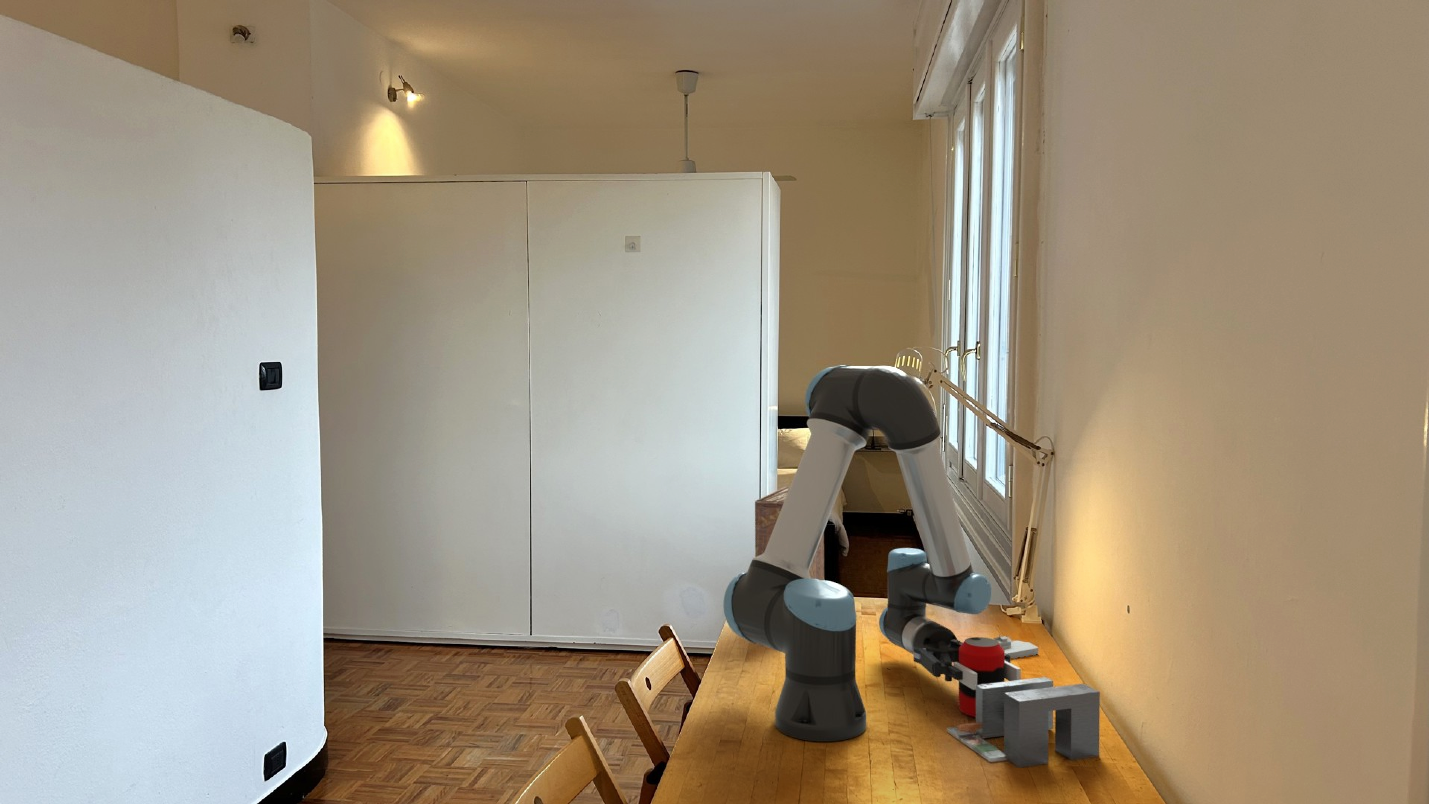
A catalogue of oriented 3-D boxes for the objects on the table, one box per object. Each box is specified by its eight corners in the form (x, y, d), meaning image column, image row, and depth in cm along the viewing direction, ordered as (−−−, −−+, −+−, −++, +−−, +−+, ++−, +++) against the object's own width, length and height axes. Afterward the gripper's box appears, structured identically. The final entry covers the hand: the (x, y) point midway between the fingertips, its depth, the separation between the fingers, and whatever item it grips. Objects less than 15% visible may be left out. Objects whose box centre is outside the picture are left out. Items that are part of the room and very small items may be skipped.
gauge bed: (1001, 770, 150) (1001, 703, 149) (947, 731, 165) (947, 671, 164) (1099, 756, 154) (1099, 691, 154) (1037, 719, 170) (1037, 661, 169)
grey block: (979, 753, 155) (979, 701, 155) (955, 736, 162) (955, 687, 162) (1071, 740, 160) (1072, 690, 160) (1045, 724, 167) (1045, 676, 166)
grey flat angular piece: (1000, 642, 216) (1000, 625, 216) (1045, 654, 207) (1045, 636, 207) (963, 653, 209) (963, 635, 209) (1009, 666, 200) (1009, 647, 200)
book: (787, 609, 244) (786, 485, 243) (824, 612, 241) (824, 487, 239) (755, 637, 220) (754, 500, 219) (796, 641, 217) (795, 502, 216)
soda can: (986, 700, 178) (986, 633, 178) (1013, 715, 171) (1014, 645, 171) (949, 706, 176) (950, 638, 175) (976, 721, 168) (976, 650, 168)
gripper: (978, 656, 193) (1050, 695, 171) (881, 666, 188) (942, 707, 166) (978, 617, 193) (1050, 651, 171) (881, 626, 187) (942, 662, 165)
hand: (997, 679), depth 168 cm, fingers closed on soda can, 7 cm apart
